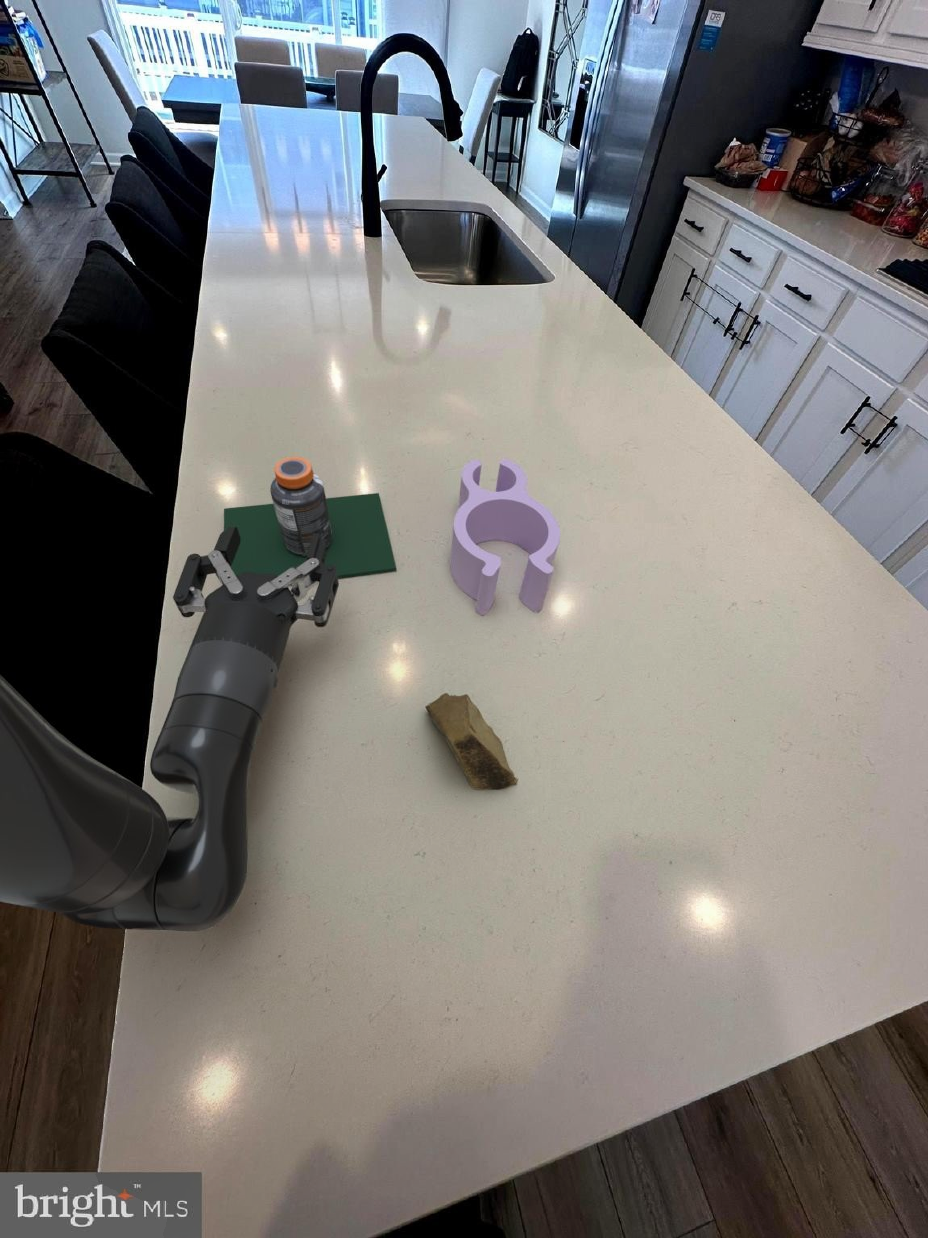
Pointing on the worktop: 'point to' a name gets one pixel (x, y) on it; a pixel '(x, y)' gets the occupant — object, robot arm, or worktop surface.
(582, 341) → the worktop surface
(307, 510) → the pill bottle
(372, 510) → the mat
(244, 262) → the worktop surface
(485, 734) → the rock
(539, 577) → the clip
